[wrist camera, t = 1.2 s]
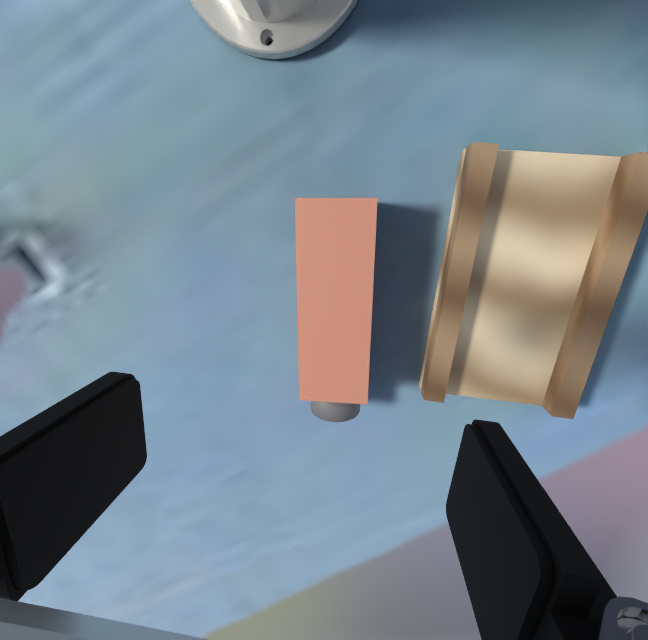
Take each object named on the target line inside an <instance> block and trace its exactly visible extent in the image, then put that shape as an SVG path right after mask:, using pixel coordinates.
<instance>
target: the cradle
mask: <svg viewBox="0 0 648 640" xmlns="http://www.w3.org/2000/svg"><path fill="white" fill-rule="evenodd" d="M498 147H499V144H494V143H477V142H474V143H472V144H471V145H469V146H468V147H466V148H465V149H464V150H462V153H461V159H460V164H459V170H458V175H457V180H456V186H455V191H454V197H453V202H452V207H451V213H450V218H449V224H448V229H447V234H446V240H445V245H444V251H443V256H442V261H441V267H440V272H439V278H438V283H437V288H436V294H435V299H434V305H433V310H432V315H431V321H430V326H429V332H428V337H427V342H426V348H425V353H424V359H423V364H422V369H421V375H420V380H419V387H420V390H421V393H422V396H423V399H424V400H428V401H436V402H443V403H444V398H445V394H453V395H461V396H469V397H477V398H485V399H493V400H501V401H509V402H518V403H526V404H534V405H542V406H543V407H544V408H545V409H546V410H547V412H548V413H549V414H550V415H551V416H554V417H562V418H570V419H573V418H574V415H575V412H576V410H577V407H578V404H579V401H580V398H581V396H582V393H583V390H584V387H585V384H586V382H587V379H588V376H589V373H590V370H591V368H592V365H593V362H594V359H595V357H596V354H597V351H598V348H599V345H600V343H601V340H602V337H603V334H604V331H605V329H606V326H607V323H608V320H609V317H610V315H611V312H612V309H613V306H614V304H615V301H616V298H617V295H618V292H619V290H620V287H621V284H622V281H623V278H624V276H625V273H626V270H627V267H628V264H629V262H630V259H631V256H632V253H633V251H634V248H635V245H636V242H637V239H638V237H639V234H640V231H641V228H642V225H643V223H644V220H645V217H646V214H647V211H648V153H647V152H639V153H635V154H631V155H627V156H623V157H615V156H598V155H582V154H565V153H549V152H532V151H515V150H499V149H498Z"/></svg>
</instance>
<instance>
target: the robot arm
mask: <svg viewBox="0 0 648 640" xmlns="http://www.w3.org/2000/svg"><path fill="white" fill-rule="evenodd" d="M357 1H358V0H190V2H191V4H192V5H193V7H194V8H195V10H196V11H197V13H198V15H199V16H200V17H201V18H202V19H203V21H204V22H205V23H206V24H207V26H208V27H209V28H210V29H211V30H212V31H213V32H214V33H215V34H216V35H217V36H218V37H219V38H221V39H222V40H223V41H224V42H225V43H227V44H228V45H230V46H232V47H233V48H235V49H237V50H238V51H240V52H242V53H245V54H248V55H251V56H254V57H257V58H267V59H280V58H288V57H293V56H296V55H299V54H301V53H304V52H307V51H309V50H311V49H313V48H314V47H316V46H317V45H319V44H320V43H322V42H323V41H325V40H326V39H327V38H328V37H329V36H331V35H332V34H333V33H334V32H335V31H336V30H337V29H338V28H339V27H340V26H341V25H342V23H343V22H344V21H345V19H346V18H347V17H348V15H349V14H350V12H351V11H352V10H353V8H354V7H355V5H356V3H357ZM269 41H273V42H272V44H271V45H269V46H267V44H268V42H269ZM146 459H147V451H146V441H145V431H144V421H143V411H142V401H141V391H140V384H139V382H138V381H137V380H136V379H135V377H134V376H133V375H132V374H126V373H119V372H109V373H107V374H106V375H104V376H102V377H100V378H99V379H97V380H95V381H94V382H92V383H90V384H89V385H87V386H85V387H83V388H82V389H80V390H78V391H77V392H75V393H73V394H72V395H70V396H68V397H66V398H65V399H63V400H61V401H60V402H58V403H56V404H55V405H53V406H51V407H50V408H48V409H46V410H44V411H43V412H41V413H39V414H38V415H36V416H34V417H33V418H31V419H29V420H27V421H26V422H24V423H22V424H21V425H19V426H17V427H16V428H14V429H12V430H10V431H9V432H7V433H5V434H4V435H2V436H0V640H207V639H202V638H197V637H192V636H188V635H183V634H178V633H173V632H168V631H163V630H158V629H153V628H148V627H143V626H138V625H133V624H128V623H124V622H119V621H114V620H109V619H104V618H99V617H94V616H89V615H84V614H79V613H74V612H69V611H63V610H58V609H53V608H48V607H43V606H38V605H33V604H28V603H23V602H18V600H19V599H20V598H21V597H22V596H23V595H24V594H25V593H26V592H27V590H29V589H32V588H34V587H35V586H37V585H38V584H39V583H40V582H41V581H42V580H43V579H44V578H45V577H46V575H47V574H48V573H49V572H50V571H51V570H52V569H53V568H54V567H55V565H56V564H57V563H58V562H59V561H60V560H61V559H62V558H63V557H64V555H65V554H66V553H67V552H68V551H69V550H70V549H71V548H72V547H73V545H74V544H75V543H76V542H77V541H78V540H79V539H80V538H81V536H82V535H83V534H84V533H85V532H86V531H87V530H88V529H89V528H90V526H91V525H92V524H93V523H94V522H95V521H96V520H97V519H98V518H99V516H100V515H101V514H102V513H103V512H104V511H105V510H106V509H107V508H108V506H109V505H110V504H111V503H112V502H113V501H114V500H115V499H116V498H117V496H118V495H119V494H120V493H121V492H122V491H123V490H124V489H125V487H126V486H127V485H128V484H129V483H130V482H131V481H132V480H133V479H134V477H135V476H136V475H137V474H138V473H139V472H140V471H141V470H142V468H143V467H144V465H145V462H146ZM446 514H447V519H448V523H449V526H450V530H451V533H452V536H453V540H454V544H455V547H456V551H457V554H458V558H459V561H460V565H461V568H462V572H463V575H464V579H465V582H466V586H467V590H468V593H469V597H470V600H471V603H472V607H473V611H474V614H475V618H476V621H477V625H478V628H479V632H480V635H481V639H482V640H648V603H646V602H643V601H640V600H637V599H635V598H629V597H617V596H616V595H615V593H614V592H613V590H612V589H611V587H610V586H609V584H608V583H607V581H606V580H605V578H604V577H603V576H602V574H601V572H600V571H599V570H598V568H597V567H596V565H595V564H594V562H593V561H592V559H591V558H590V556H589V555H588V554H587V552H586V550H585V549H584V547H583V546H582V544H581V543H580V542H579V540H578V539H577V537H576V536H575V534H574V533H573V531H572V530H571V528H570V527H569V525H568V524H567V522H566V521H565V519H564V518H563V516H562V515H561V513H560V512H559V511H558V509H557V508H556V506H555V505H554V503H553V502H552V500H551V499H550V497H549V496H548V494H547V493H546V491H545V490H544V488H543V487H542V486H541V484H540V483H539V481H538V480H537V478H536V477H535V475H534V474H533V473H532V471H531V470H530V468H529V467H528V465H527V464H526V462H525V461H524V459H523V458H522V456H521V455H520V453H519V452H518V450H517V449H516V447H515V446H514V444H513V443H512V441H511V440H510V438H509V437H508V436H507V434H506V433H505V431H504V430H503V428H502V427H501V425H500V424H499V423H497V422H490V421H483V420H474V421H473V422H472V425H471V424H467V425H466V426H465V428H464V432H463V436H462V440H461V444H460V448H459V453H458V457H457V461H456V465H455V469H454V473H453V477H452V482H451V486H450V490H449V494H448V498H447V503H446Z"/></svg>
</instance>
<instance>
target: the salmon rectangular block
mask: <svg viewBox="0 0 648 640" xmlns="http://www.w3.org/2000/svg"><path fill="white" fill-rule="evenodd" d="M377 199H378V198H295V221H296V268H297V315H298V361H299V400H305V401H311V410H312V412H313V414H314V415H315V416H316V417H318V418H320V419H322V420H325V421H330V422H343V421H347V420H350V419H353V418H354V417H356V416H357V415H358V413H359V411H360V404H367V405H368V384H369V364H370V343H371V323H372V302H373V282H374V261H375V240H376V220H377Z"/></svg>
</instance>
